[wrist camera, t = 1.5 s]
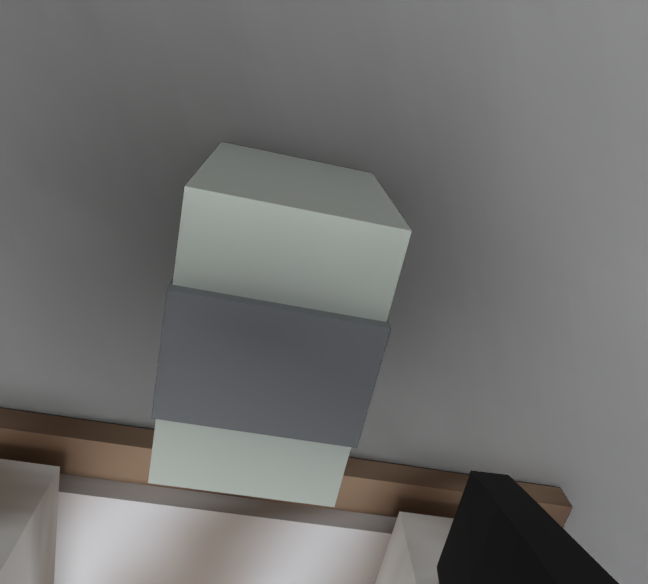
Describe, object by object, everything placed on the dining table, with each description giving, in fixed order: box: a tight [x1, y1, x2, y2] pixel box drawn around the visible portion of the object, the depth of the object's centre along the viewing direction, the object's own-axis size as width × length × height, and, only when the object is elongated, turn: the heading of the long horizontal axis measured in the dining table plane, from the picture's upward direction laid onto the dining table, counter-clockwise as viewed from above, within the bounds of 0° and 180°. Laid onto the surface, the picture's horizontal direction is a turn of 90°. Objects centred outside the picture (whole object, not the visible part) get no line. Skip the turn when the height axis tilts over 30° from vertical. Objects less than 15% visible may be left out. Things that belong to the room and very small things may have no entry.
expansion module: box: [148, 142, 412, 507], centre depth 15 cm, size 4×7×6 cm, turn 168°
